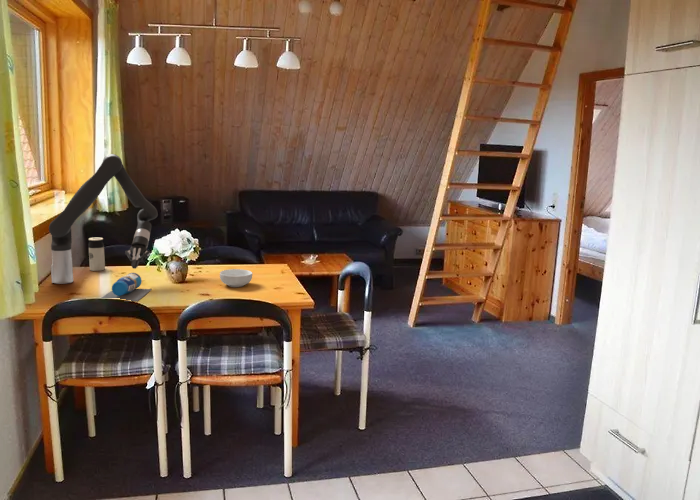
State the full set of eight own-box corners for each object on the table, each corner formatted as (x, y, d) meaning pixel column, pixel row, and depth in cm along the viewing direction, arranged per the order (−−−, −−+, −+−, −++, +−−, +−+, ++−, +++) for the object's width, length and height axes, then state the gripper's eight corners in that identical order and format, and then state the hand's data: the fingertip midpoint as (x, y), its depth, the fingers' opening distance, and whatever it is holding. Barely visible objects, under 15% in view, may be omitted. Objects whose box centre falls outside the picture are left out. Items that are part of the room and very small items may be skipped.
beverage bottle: (132, 291, 294) (117, 301, 274) (122, 278, 293) (105, 286, 273) (145, 282, 294) (131, 291, 274) (135, 268, 292) (120, 276, 273)
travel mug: (102, 267, 337) (100, 236, 334) (107, 270, 332) (105, 238, 328) (87, 269, 332) (86, 238, 329) (92, 271, 326) (91, 240, 323)
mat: (98, 300, 272) (98, 299, 272) (115, 289, 293) (115, 288, 293) (137, 301, 273) (137, 300, 273) (151, 290, 293) (151, 289, 293)
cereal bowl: (232, 291, 296) (232, 277, 295) (213, 285, 307) (213, 271, 306) (258, 285, 309) (258, 272, 307) (239, 280, 320) (239, 267, 318)
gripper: (126, 234, 299) (118, 263, 289) (152, 235, 299) (145, 264, 290) (130, 243, 305) (122, 271, 296) (155, 243, 306) (149, 272, 296)
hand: (134, 267), depth 293 cm, fingers closed
